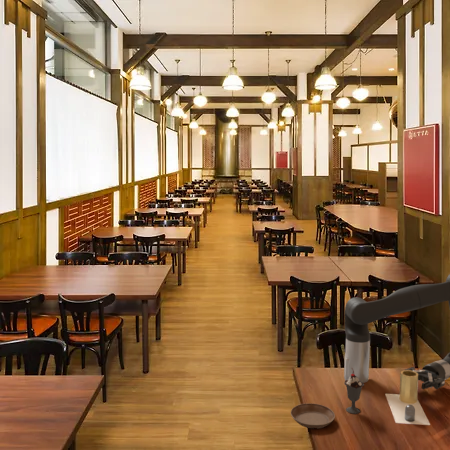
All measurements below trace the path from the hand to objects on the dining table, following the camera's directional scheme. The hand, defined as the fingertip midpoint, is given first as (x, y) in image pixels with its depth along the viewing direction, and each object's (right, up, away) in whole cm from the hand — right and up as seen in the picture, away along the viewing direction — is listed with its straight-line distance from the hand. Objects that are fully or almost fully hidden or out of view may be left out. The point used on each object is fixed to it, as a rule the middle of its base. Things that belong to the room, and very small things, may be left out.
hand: (412, 382), depth 194 cm
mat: (-4, -8, -7) cm, 11 cm away
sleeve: (-2, -6, 0) cm, 6 cm away
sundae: (-23, -8, -6) cm, 25 cm away
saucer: (-38, -9, -13) cm, 42 cm away
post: (-6, -9, -15) cm, 18 cm away
